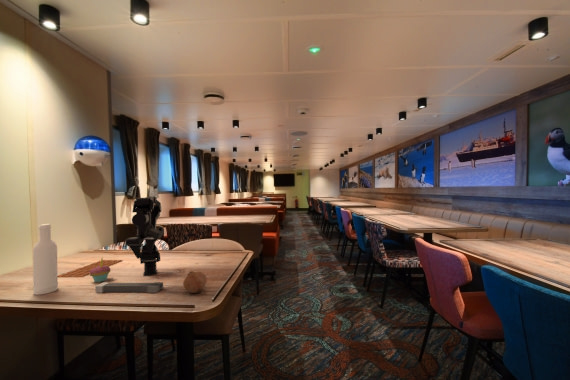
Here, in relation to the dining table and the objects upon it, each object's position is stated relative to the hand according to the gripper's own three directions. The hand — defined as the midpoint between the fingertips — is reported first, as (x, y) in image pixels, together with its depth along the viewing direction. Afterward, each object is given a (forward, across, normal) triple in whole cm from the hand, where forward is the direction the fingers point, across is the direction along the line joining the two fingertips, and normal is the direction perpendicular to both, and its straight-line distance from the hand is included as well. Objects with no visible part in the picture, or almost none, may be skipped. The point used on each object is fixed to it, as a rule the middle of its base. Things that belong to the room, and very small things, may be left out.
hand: (144, 255), depth 117 cm
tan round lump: (+13, -11, -29) cm, 34 cm away
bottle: (+13, -10, +39) cm, 43 cm away
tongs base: (+13, -9, +1) cm, 16 cm away
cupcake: (+13, +3, +25) cm, 28 cm away
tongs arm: (+13, -8, -1) cm, 15 cm away
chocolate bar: (+14, +22, +45) cm, 52 cm away
